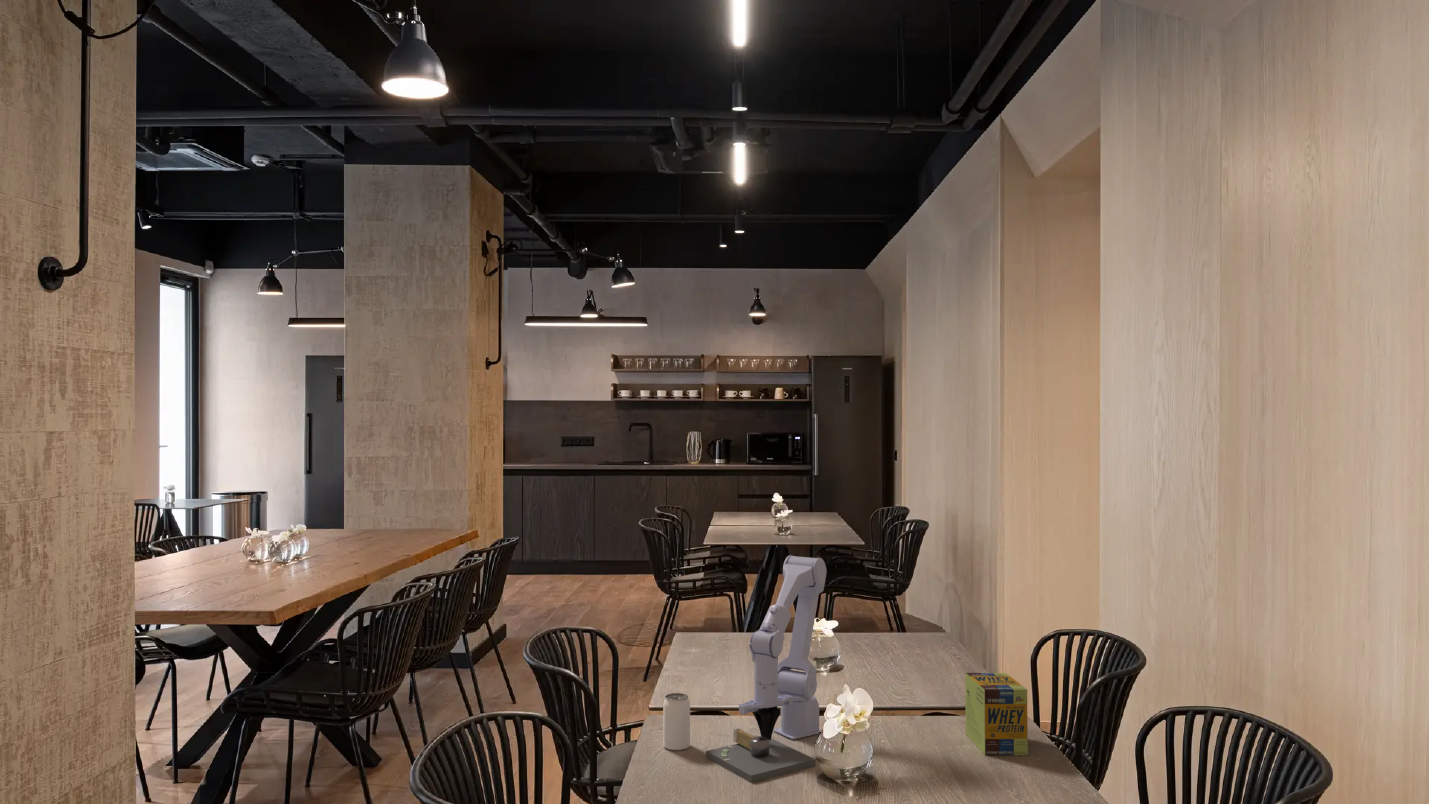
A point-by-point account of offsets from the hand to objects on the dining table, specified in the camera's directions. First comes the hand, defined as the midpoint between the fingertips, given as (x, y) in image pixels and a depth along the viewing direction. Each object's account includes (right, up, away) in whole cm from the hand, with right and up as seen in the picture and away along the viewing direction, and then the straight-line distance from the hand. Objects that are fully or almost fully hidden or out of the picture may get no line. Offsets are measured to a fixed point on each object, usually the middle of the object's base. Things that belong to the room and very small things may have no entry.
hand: (766, 739), depth 216 cm
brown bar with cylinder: (-4, 0, -4) cm, 6 cm away
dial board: (-2, -2, -7) cm, 8 cm away
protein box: (+56, -3, +5) cm, 56 cm away
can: (-21, -3, +3) cm, 22 cm away
